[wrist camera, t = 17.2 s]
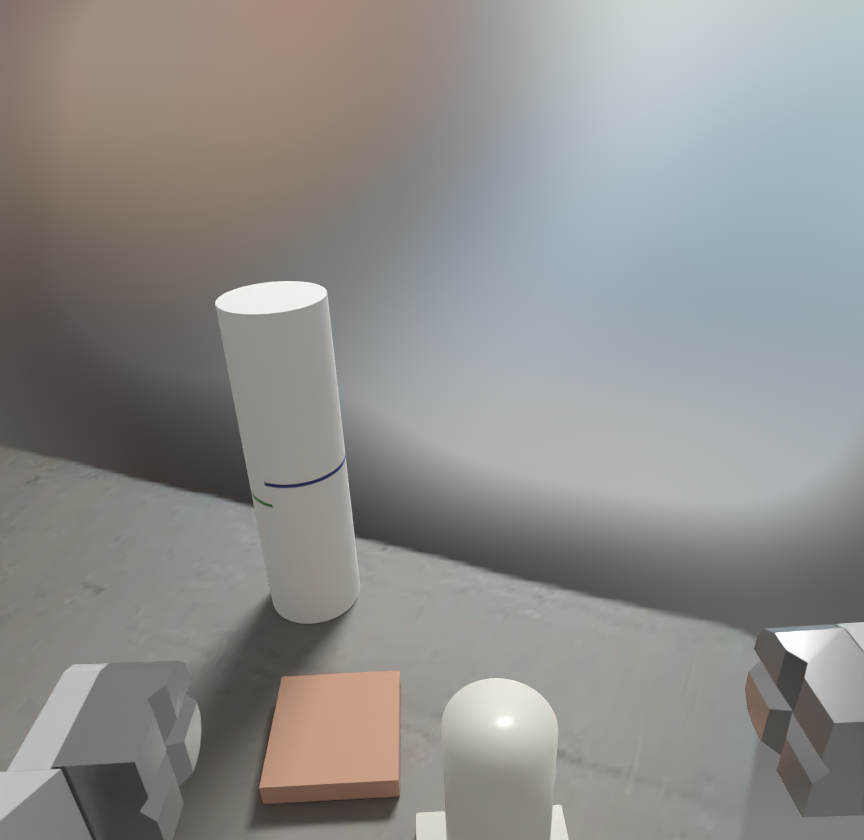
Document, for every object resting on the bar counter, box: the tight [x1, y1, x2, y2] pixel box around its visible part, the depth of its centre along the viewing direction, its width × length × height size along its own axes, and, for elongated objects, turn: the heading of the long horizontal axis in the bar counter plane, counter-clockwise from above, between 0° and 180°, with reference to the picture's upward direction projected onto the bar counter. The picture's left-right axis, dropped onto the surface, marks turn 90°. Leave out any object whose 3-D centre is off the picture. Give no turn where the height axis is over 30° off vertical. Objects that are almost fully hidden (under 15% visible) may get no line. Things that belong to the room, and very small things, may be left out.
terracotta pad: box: [259, 670, 401, 804], centre depth 43 cm, size 8×8×2 cm
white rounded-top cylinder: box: [442, 678, 558, 840], centre depth 31 cm, size 5×5×12 cm
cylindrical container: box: [215, 281, 360, 624], centre depth 50 cm, size 7×7×25 cm
